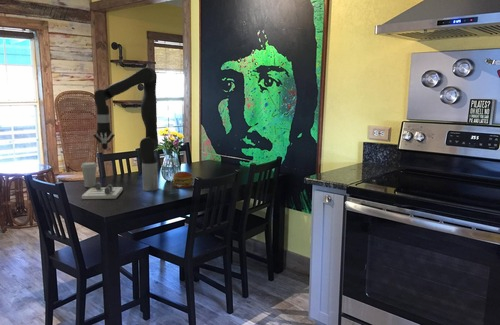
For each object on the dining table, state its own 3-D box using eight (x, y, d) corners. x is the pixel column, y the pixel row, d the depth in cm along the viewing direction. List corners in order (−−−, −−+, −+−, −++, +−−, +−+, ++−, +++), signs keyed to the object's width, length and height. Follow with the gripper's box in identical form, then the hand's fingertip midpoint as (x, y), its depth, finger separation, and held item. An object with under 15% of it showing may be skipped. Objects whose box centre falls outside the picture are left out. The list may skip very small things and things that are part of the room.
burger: (189, 189, 263) (188, 174, 261) (169, 188, 266) (168, 173, 264) (196, 185, 276) (195, 170, 274) (176, 184, 279) (176, 169, 277)
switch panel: (122, 190, 260) (122, 187, 260) (116, 198, 240) (115, 194, 240) (91, 190, 258) (91, 187, 257) (81, 199, 238) (81, 195, 238)
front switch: (110, 192, 245) (110, 186, 244) (109, 193, 242) (108, 187, 241) (105, 192, 245) (105, 186, 244) (104, 193, 242) (104, 187, 241)
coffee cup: (81, 188, 264) (80, 165, 262) (83, 184, 273) (81, 162, 271) (97, 187, 267) (96, 164, 264) (98, 184, 276) (97, 161, 273)
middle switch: (112, 189, 251) (112, 184, 250) (111, 191, 248) (111, 185, 247) (108, 189, 250) (108, 184, 250) (107, 191, 247) (106, 185, 247)
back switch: (101, 187, 256) (100, 182, 255) (100, 188, 253) (99, 183, 252) (97, 187, 255) (96, 182, 255) (95, 189, 252) (95, 183, 252)
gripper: (115, 121, 263) (117, 148, 266) (94, 121, 261) (95, 148, 264) (113, 122, 255) (114, 150, 258) (91, 122, 254) (92, 150, 257)
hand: (105, 149), depth 261 cm, fingers closed
